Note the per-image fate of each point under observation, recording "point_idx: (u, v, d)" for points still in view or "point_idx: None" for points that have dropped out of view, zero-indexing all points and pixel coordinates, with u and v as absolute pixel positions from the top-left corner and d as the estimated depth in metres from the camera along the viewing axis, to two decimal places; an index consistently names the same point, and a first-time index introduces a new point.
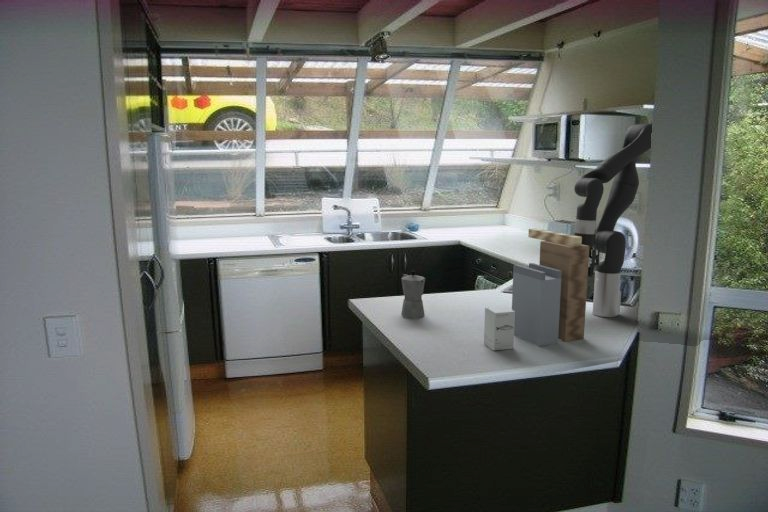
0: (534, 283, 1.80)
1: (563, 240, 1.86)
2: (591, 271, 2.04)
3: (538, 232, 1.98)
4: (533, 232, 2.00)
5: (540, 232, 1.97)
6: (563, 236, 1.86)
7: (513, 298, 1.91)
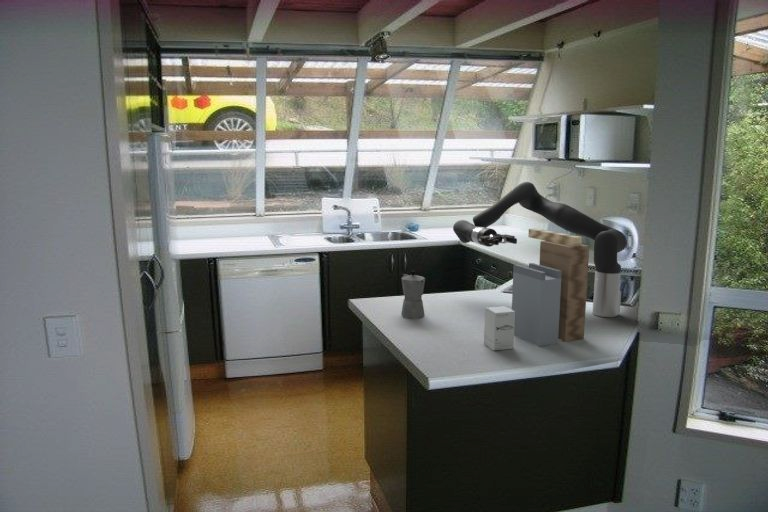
0: (534, 283, 1.80)
1: (563, 240, 1.86)
2: (492, 242, 2.18)
3: (538, 232, 1.98)
4: (533, 232, 2.00)
5: (540, 232, 1.97)
6: (563, 236, 1.86)
7: (513, 298, 1.91)
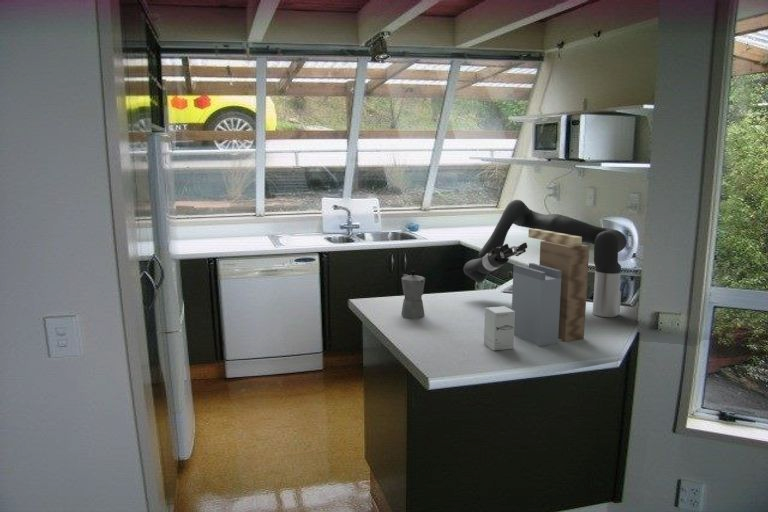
0: (534, 283, 1.80)
1: (563, 240, 1.86)
2: (502, 249, 2.12)
3: (538, 232, 1.98)
4: (533, 232, 2.00)
5: (540, 232, 1.97)
6: (563, 236, 1.86)
7: (513, 298, 1.91)
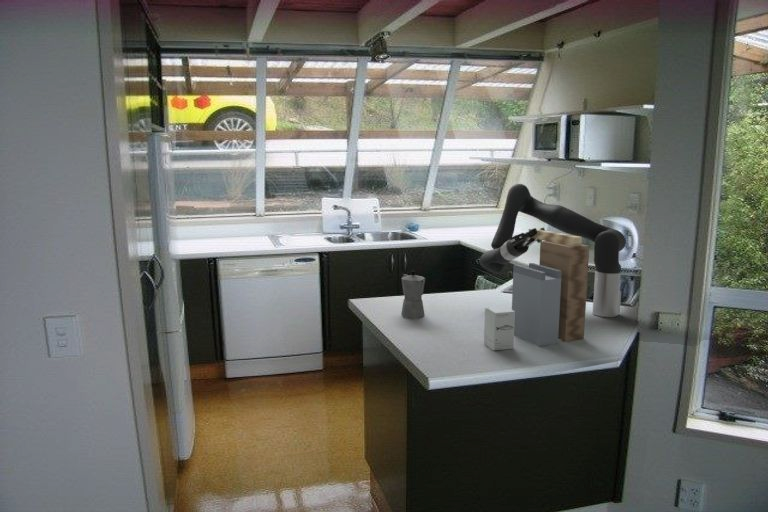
0: (534, 283, 1.80)
1: (563, 240, 1.86)
2: (530, 233, 2.00)
3: (538, 232, 1.98)
4: None
5: (540, 232, 1.97)
6: (563, 236, 1.86)
7: (513, 298, 1.91)
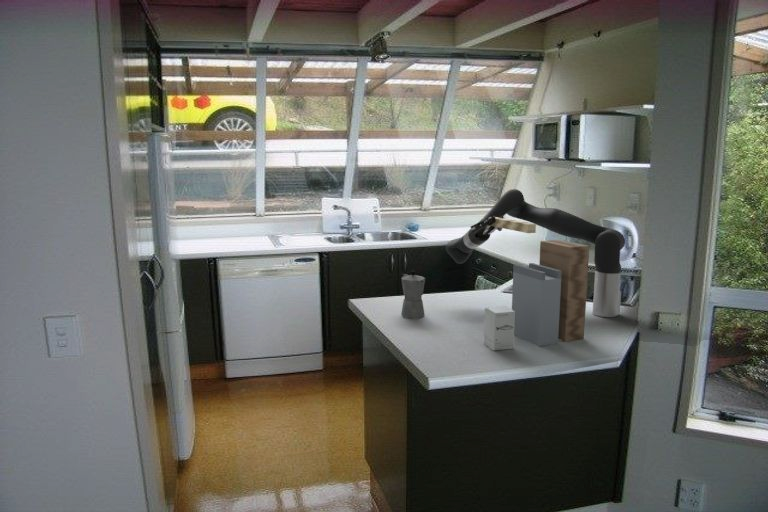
0: (534, 283, 1.80)
1: (518, 227, 1.90)
2: (489, 221, 2.04)
3: (496, 220, 2.02)
4: None
5: (498, 220, 2.01)
6: (518, 223, 1.90)
7: (513, 298, 1.91)
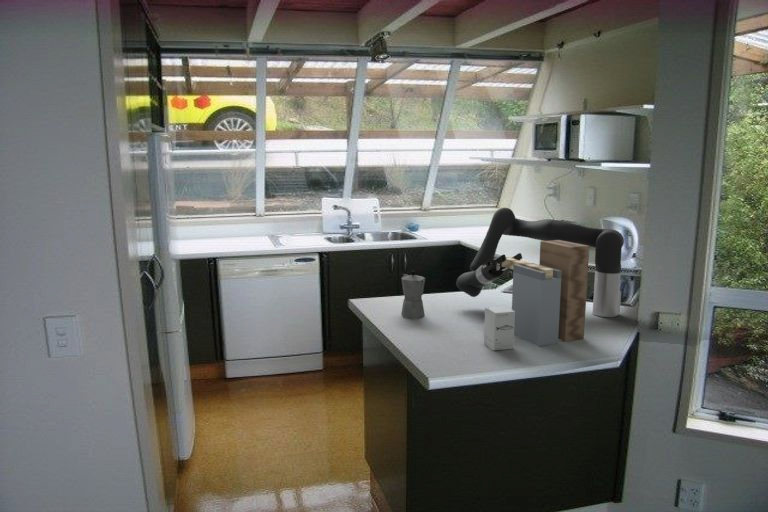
0: (534, 283, 1.80)
1: None
2: (499, 260, 1.97)
3: (511, 262, 1.95)
4: (506, 262, 1.98)
5: (513, 262, 1.94)
6: (535, 268, 1.83)
7: (513, 298, 1.91)
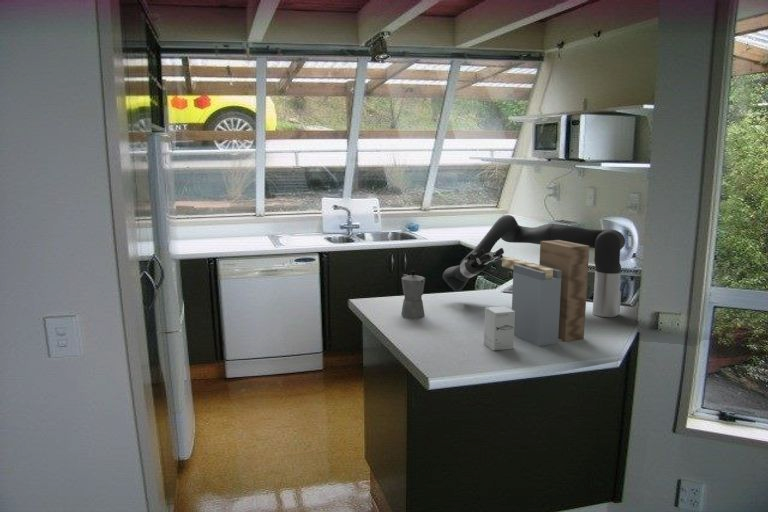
0: (534, 283, 1.80)
1: None
2: (478, 254, 2.08)
3: (511, 262, 1.95)
4: (506, 262, 1.98)
5: (513, 262, 1.94)
6: (535, 268, 1.83)
7: (513, 298, 1.91)
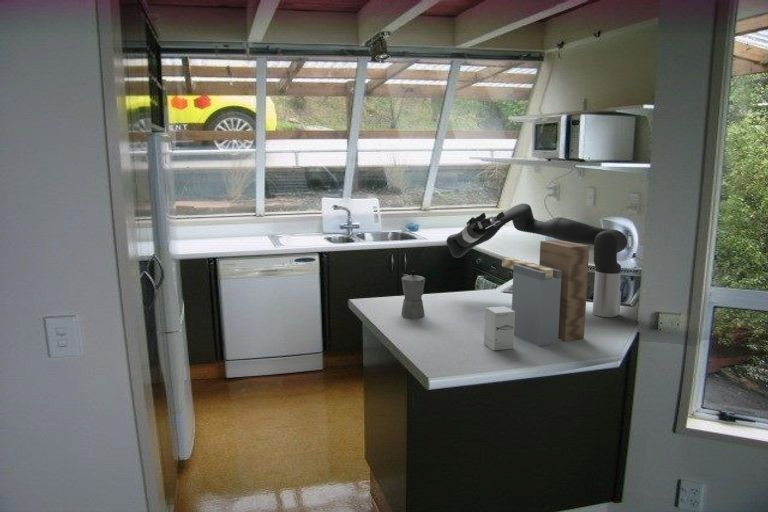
0: (534, 283, 1.80)
1: None
2: (479, 218, 2.16)
3: (511, 262, 1.95)
4: (506, 262, 1.98)
5: (513, 262, 1.94)
6: (535, 268, 1.83)
7: (513, 298, 1.91)
